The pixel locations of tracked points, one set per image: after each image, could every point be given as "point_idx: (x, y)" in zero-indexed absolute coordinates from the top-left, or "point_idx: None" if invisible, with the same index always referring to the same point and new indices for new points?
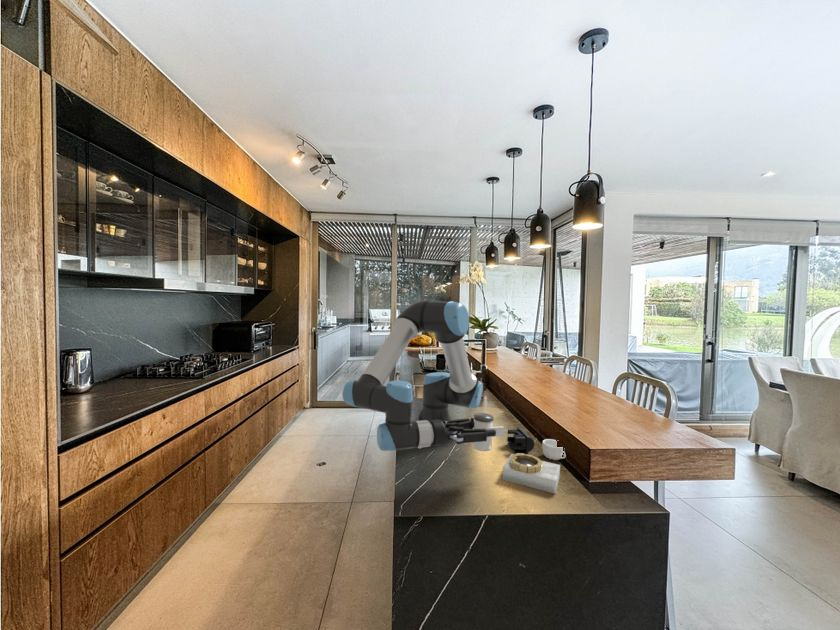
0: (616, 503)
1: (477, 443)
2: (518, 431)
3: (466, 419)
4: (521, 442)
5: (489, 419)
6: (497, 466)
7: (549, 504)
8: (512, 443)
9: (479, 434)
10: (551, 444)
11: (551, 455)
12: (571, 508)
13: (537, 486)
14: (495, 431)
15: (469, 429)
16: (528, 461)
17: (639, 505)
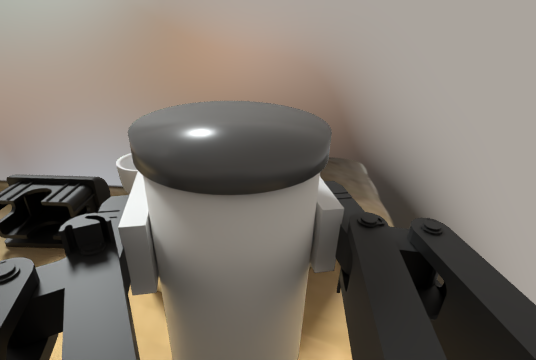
0: (346, 184)
1: (280, 356)
2: (30, 185)
3: (4, 289)
4: (85, 205)
5: (322, 119)
6: (139, 329)
7: None
8: (33, 230)
9: (498, 281)
10: (128, 167)
11: None
12: None
13: (309, 264)
14: (336, 184)
15: (405, 349)
16: None
17: (346, 168)
